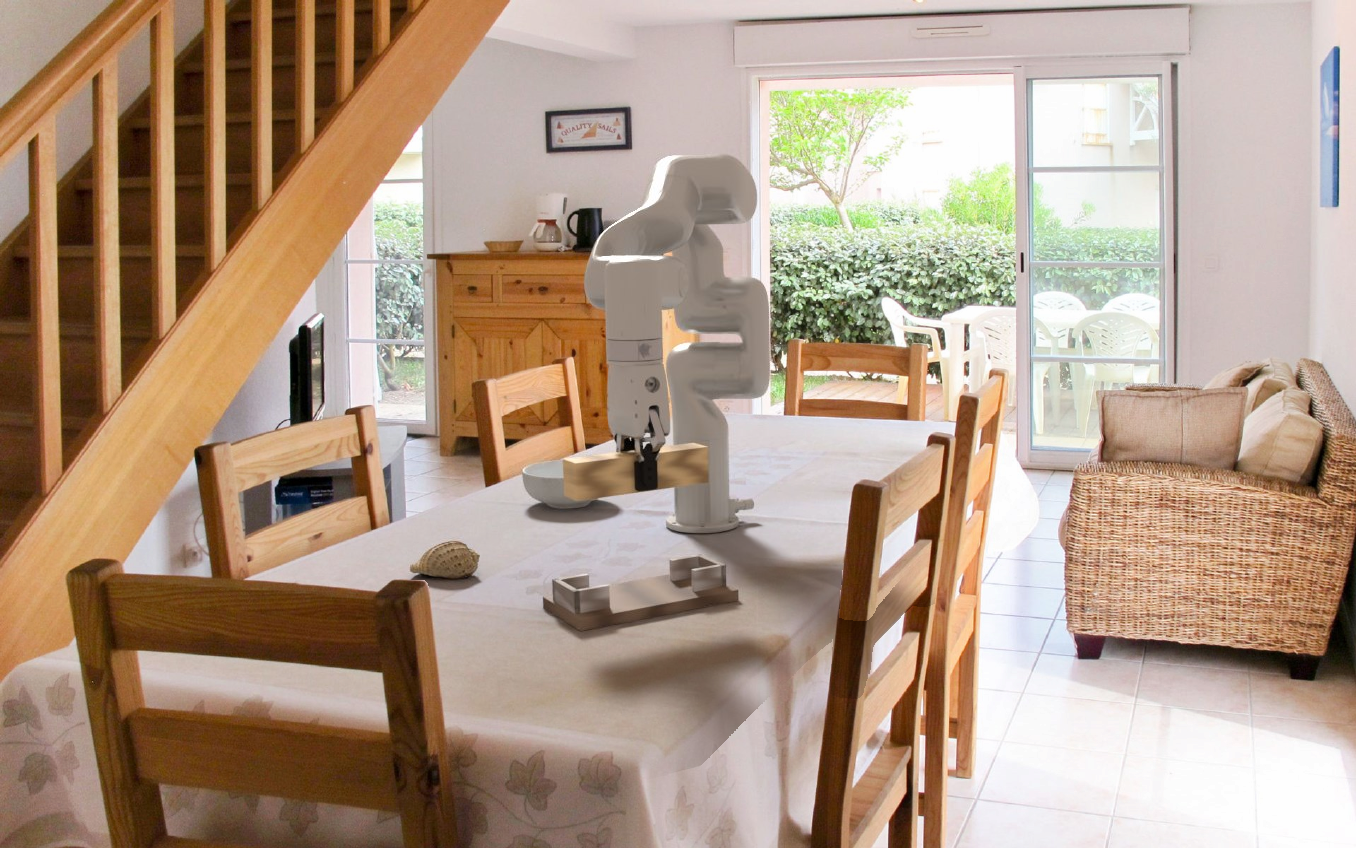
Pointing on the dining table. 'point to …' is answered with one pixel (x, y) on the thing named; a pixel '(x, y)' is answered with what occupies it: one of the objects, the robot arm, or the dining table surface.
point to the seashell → (448, 561)
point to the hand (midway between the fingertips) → (638, 485)
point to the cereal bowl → (549, 485)
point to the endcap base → (641, 594)
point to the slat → (618, 475)
